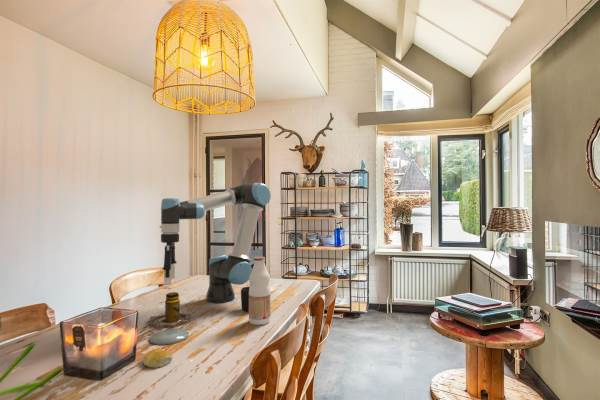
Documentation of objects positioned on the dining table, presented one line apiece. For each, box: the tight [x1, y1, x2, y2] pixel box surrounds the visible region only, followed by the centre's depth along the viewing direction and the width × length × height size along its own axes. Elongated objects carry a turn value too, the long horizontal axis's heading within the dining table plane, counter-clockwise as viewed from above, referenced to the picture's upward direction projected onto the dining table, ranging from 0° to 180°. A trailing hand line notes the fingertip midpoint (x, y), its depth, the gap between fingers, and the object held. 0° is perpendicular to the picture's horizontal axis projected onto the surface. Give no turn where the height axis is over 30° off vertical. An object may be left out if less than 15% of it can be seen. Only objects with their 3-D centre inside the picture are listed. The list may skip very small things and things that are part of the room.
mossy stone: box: [142, 348, 174, 369], centre depth 113 cm, size 8×9×4 cm
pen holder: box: [240, 286, 250, 313], centre depth 169 cm, size 9×9×10 cm
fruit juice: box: [248, 256, 272, 326], centre depth 151 cm, size 9×9×28 cm
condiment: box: [158, 291, 183, 324], centre depth 153 cm, size 7×8×12 cm
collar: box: [147, 311, 192, 329], centre depth 153 cm, size 17×17×2 cm
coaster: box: [149, 328, 189, 346], centre depth 134 cm, size 14×14×1 cm
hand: (169, 281), depth 153 cm, fingers open, 13 cm apart
